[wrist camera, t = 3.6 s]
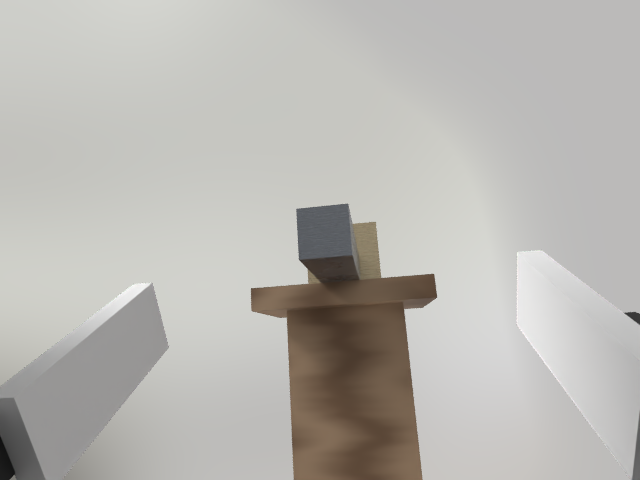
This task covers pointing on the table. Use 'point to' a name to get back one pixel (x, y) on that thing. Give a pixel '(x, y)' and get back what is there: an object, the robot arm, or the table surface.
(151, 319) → the robot arm
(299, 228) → the gray and beige block
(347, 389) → the stand
